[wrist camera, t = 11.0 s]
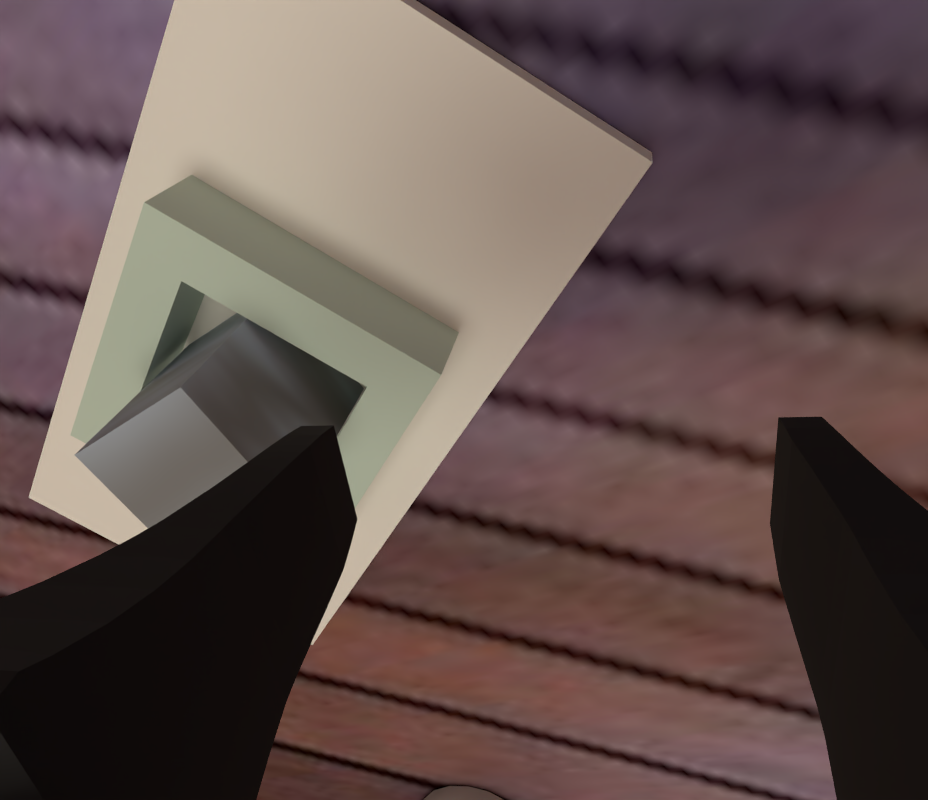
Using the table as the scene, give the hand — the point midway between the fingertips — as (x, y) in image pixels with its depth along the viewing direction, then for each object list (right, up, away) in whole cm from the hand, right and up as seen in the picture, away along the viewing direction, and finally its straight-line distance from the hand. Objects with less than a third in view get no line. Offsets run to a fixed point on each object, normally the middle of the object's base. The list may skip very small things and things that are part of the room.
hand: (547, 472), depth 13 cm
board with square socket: (-7, +3, +12) cm, 14 cm away
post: (-7, +2, +11) cm, 14 cm away
